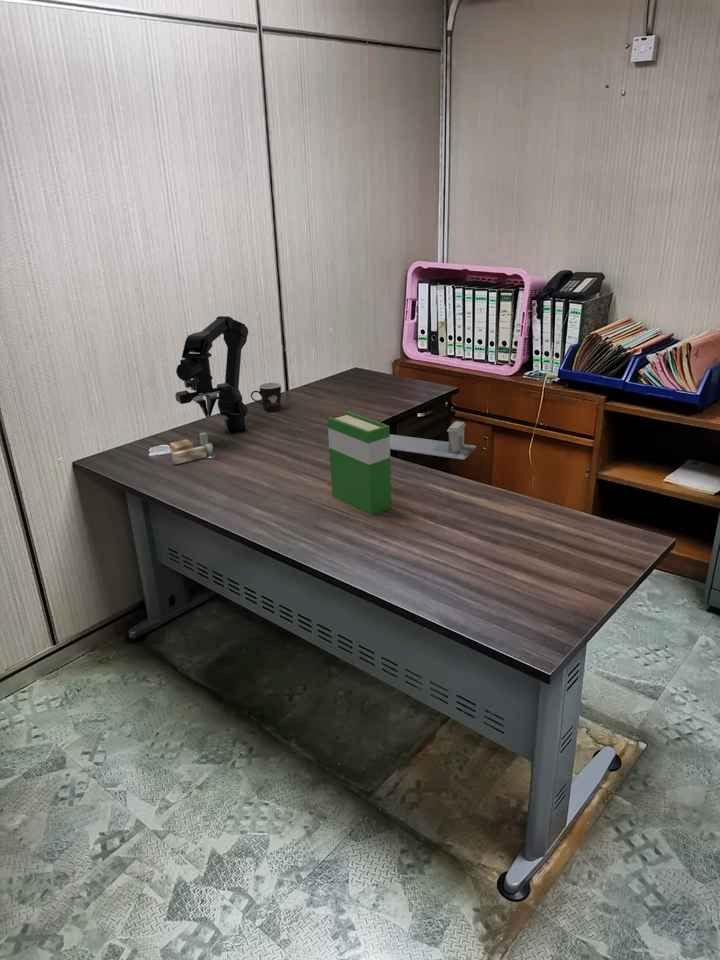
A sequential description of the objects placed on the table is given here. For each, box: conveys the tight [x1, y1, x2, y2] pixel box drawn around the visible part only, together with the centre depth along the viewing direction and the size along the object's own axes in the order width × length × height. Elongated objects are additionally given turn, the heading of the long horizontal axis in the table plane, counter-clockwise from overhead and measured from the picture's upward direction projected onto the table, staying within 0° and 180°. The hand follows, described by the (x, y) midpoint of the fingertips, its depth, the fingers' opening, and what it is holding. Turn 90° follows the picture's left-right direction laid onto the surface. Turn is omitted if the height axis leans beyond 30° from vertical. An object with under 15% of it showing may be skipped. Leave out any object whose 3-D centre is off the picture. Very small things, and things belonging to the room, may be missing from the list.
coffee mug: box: [250, 382, 282, 413], centre depth 277 cm, size 12×9×10 cm
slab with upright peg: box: [390, 420, 477, 461], centre depth 234 cm, size 12×33×10 cm, turn 63°
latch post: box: [199, 432, 209, 447], centre depth 245 cm, size 2×2×4 cm
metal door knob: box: [204, 442, 217, 459], centre depth 235 cm, size 4×4×4 cm
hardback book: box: [326, 411, 392, 516], centre depth 194 cm, size 18×7×24 cm, turn 39°
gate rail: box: [171, 445, 207, 465], centre depth 232 cm, size 11×2×4 cm, turn 121°
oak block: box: [169, 439, 194, 453], centre depth 238 cm, size 6×6×4 cm
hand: (208, 417), depth 239 cm, fingers closed
